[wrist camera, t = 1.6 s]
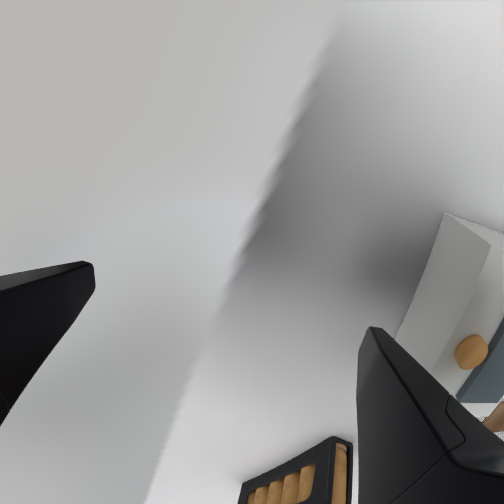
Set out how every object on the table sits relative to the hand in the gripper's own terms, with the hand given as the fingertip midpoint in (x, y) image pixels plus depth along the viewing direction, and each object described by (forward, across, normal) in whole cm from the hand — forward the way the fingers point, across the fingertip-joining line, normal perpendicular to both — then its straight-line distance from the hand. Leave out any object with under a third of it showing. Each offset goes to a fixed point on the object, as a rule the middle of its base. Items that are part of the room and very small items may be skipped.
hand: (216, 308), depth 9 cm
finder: (+4, -10, 0) cm, 11 cm away
